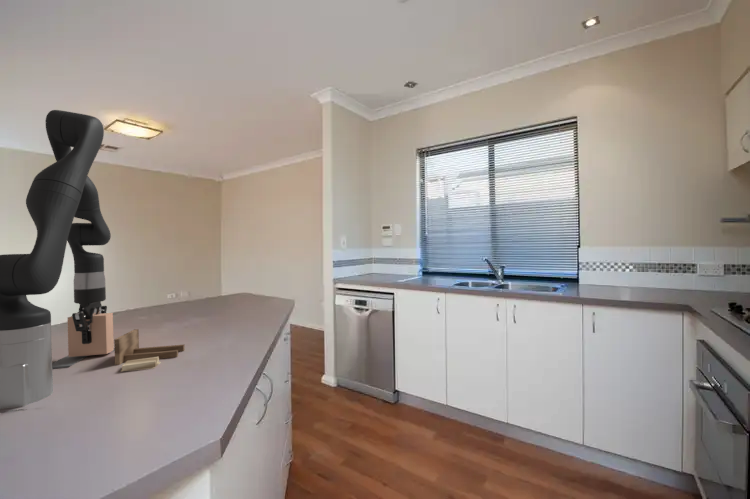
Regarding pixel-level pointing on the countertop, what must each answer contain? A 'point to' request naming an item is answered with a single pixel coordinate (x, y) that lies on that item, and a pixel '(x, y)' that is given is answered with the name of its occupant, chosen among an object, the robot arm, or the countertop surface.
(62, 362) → the mat
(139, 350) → the rack
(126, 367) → the offcut upper
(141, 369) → the cream folded flat block
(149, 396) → the countertop surface
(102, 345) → the salmon pink block
